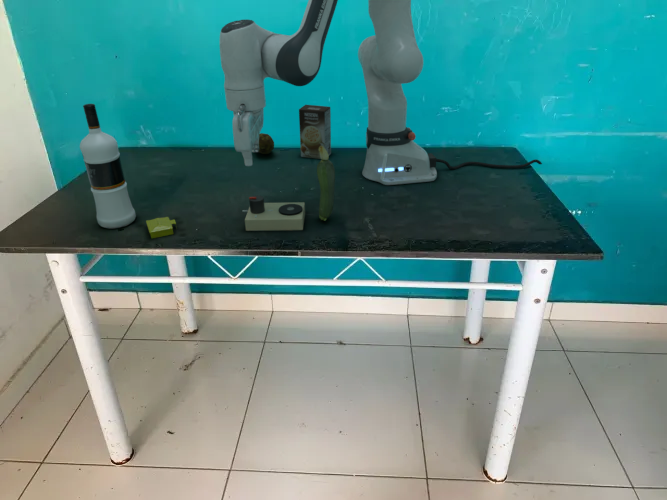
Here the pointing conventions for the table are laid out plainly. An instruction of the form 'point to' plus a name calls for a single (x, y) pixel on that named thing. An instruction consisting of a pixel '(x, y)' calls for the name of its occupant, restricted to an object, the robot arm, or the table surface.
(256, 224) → the hot plate
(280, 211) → the burner
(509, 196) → the table surface
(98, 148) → the vodka
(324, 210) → the vegetable
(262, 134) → the potato
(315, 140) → the coffee box
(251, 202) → the hob knob
